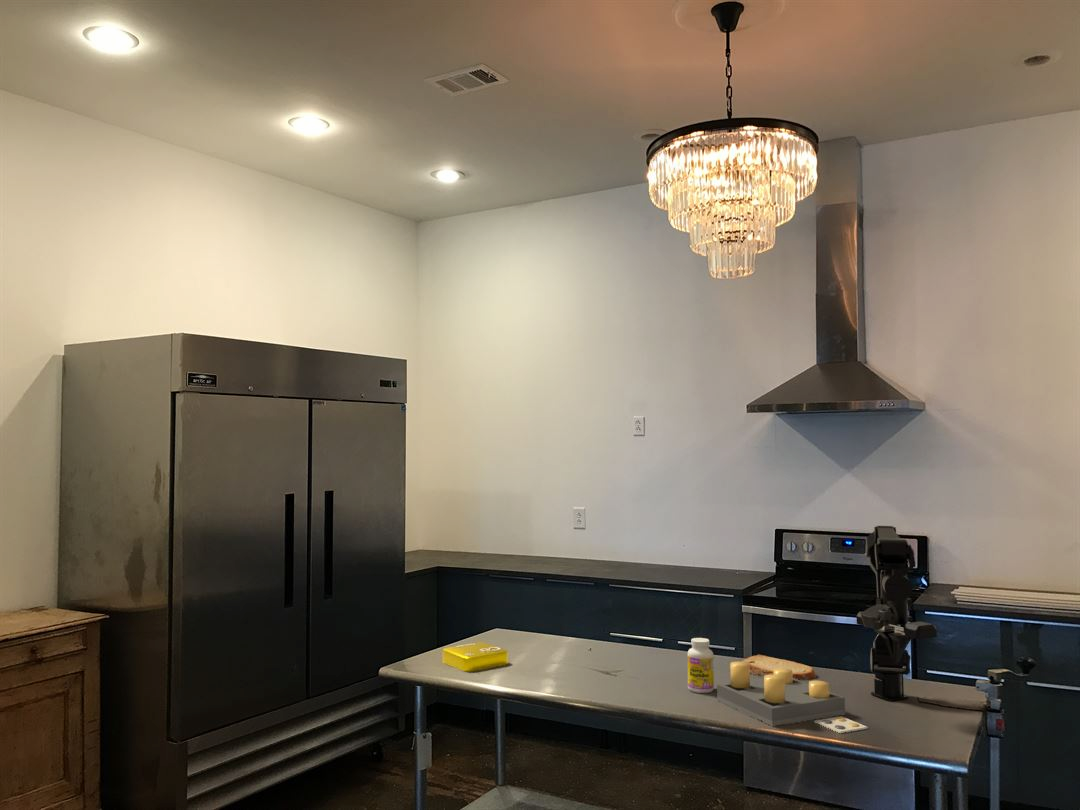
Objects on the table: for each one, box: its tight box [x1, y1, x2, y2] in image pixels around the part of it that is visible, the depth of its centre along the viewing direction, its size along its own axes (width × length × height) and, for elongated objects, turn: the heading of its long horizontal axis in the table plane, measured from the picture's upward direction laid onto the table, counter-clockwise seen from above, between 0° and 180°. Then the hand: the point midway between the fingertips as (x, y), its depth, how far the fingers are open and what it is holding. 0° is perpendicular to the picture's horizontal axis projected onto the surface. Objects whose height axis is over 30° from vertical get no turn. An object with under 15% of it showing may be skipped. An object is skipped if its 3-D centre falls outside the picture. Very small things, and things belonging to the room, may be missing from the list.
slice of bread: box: [740, 654, 817, 680], centre depth 230 cm, size 18×18×4 cm
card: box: [813, 715, 868, 734], centre depth 185 cm, size 8×8×1 cm
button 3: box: [773, 668, 793, 684], centre depth 207 cm, size 5×5×5 cm
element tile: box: [442, 641, 509, 673], centre depth 242 cm, size 15×15×5 cm
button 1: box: [729, 661, 751, 688], centre depth 202 cm, size 5×5×5 cm
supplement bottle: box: [687, 637, 715, 694], centre depth 213 cm, size 7×7×13 cm
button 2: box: [763, 675, 785, 703], centre depth 190 cm, size 5×5×5 cm
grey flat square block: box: [716, 677, 846, 727], centre depth 198 cm, size 21×21×4 cm
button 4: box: [808, 680, 830, 699], centre depth 195 cm, size 5×5×5 cm
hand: (896, 662), depth 189 cm, fingers closed
